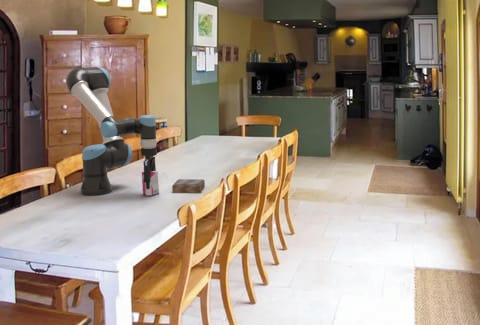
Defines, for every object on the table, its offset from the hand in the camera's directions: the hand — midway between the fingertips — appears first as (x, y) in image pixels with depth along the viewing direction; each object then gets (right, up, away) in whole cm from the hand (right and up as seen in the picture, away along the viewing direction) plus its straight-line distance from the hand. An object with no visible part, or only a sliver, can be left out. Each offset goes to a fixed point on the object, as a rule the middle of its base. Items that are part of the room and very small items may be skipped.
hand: (150, 193), depth 284 cm
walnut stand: (+18, +1, +9) cm, 20 cm away
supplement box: (0, -1, 0) cm, 1 cm away
